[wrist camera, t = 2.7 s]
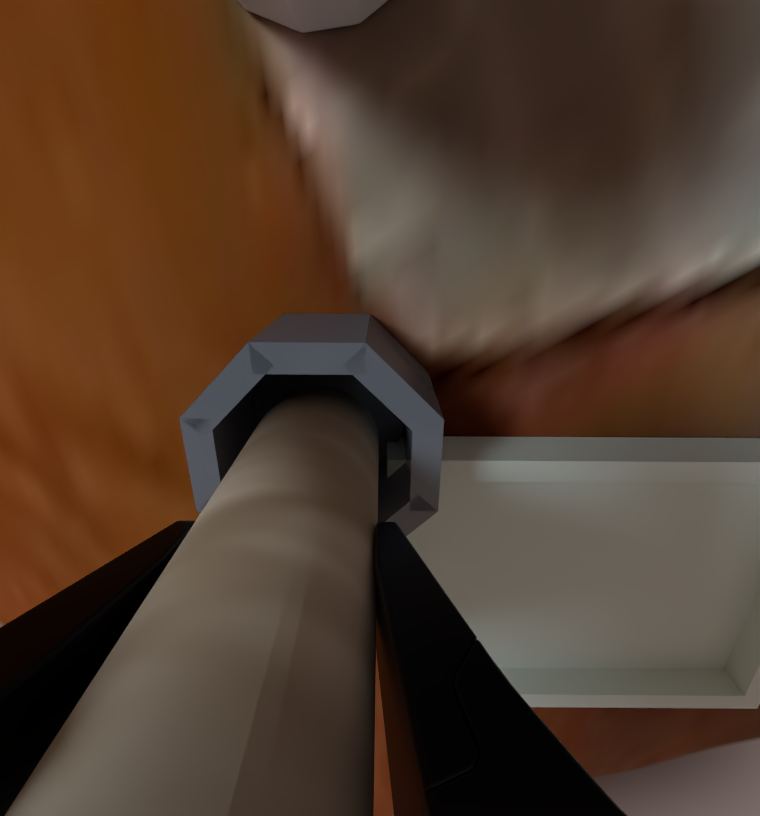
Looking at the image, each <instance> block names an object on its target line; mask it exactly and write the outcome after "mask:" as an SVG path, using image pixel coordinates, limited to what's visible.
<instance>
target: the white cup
mask: <svg viewBox="0 0 760 816" xmlns="http://www.w3.org/2000/svg"><path fill="white" fill-rule="evenodd" d="M387 1H388V0H237V2H238V3H239V4H240V5H241V6H242V7H243V8H244V9H245V10H247V11H249V12H252V13H254V14H257V15H259V16H262V17H264V18H267V19H269V20H271V21H274V22H276V23H279V24H281V25H284V26H286V27H288V28H291V29H293V30H296V31H298V32H301V33H307V32H313V31H319V30H325V29H331V28H337V27H344V26H350V25H356V24H360V23H361V22H363V21H364V20H365V19H366V18H367V17H369V16H370V15H371V14H372V13H373V12H375V11H376V10H377V9H378V8H380V7H381V6H382V5H383V4H384V3H386V2H387Z"/></svg>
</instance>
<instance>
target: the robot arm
mask: <svg viewBox="0 0 760 816" xmlns="http://www.w3.org/2000/svg"><path fill="white" fill-rule="evenodd" d="M194 523H195V521H177V522H175V523H173V524H172V525H170V526H168V527H167V528H165V529H163V530H162V531H160V532H158V533H157V534H155V535H153V536H152V537H150V538H148V539H147V540H145V541H143V542H142V543H140V544H138V545H137V546H135V547H133V548H132V549H130V550H129V551H127V552H125V553H124V554H122V555H120V556H119V557H117V558H115V559H114V560H112V561H110V562H109V563H107V564H105V565H104V566H102V567H100V568H99V569H97V570H95V571H94V572H92V573H90V574H89V575H87V576H85V577H84V578H82V579H80V580H79V581H77V582H75V583H74V584H72V585H70V586H69V587H67V588H65V589H64V590H62V591H60V592H59V593H57V594H56V595H54V596H52V597H51V598H49V599H47V600H46V601H44V602H42V603H41V604H39V605H37V606H36V607H34V608H32V609H31V610H29V611H27V612H26V613H24V614H22V615H21V616H19V617H17V618H16V619H14V620H12V621H11V622H9V623H7V624H6V625H4V626H2V627H1V628H0V816H5V814H6V812H7V811H8V809H9V808H10V806H11V805H12V803H13V802H14V800H15V799H16V797H17V796H18V794H19V792H20V791H21V789H22V788H23V786H24V785H25V783H26V782H27V780H28V779H29V777H30V776H31V774H32V772H33V771H34V769H35V768H36V766H37V765H38V763H39V762H40V760H41V759H42V757H43V755H44V754H45V752H46V751H47V749H48V748H49V746H50V745H51V743H52V742H53V740H54V739H55V737H56V735H57V734H58V732H59V731H60V729H61V728H62V726H63V725H64V723H65V722H66V720H67V718H68V717H69V715H70V714H71V712H72V711H73V709H74V708H75V706H76V705H77V703H78V702H79V700H80V698H81V697H82V695H83V694H84V692H85V691H86V689H87V688H88V686H89V685H90V683H91V682H92V680H93V678H94V677H95V675H96V674H97V672H98V671H99V669H100V668H101V666H102V665H103V663H104V661H105V660H106V658H107V657H108V655H109V654H110V652H111V651H112V649H113V648H114V646H115V645H116V643H117V641H118V640H119V638H120V637H121V635H122V634H123V632H124V631H125V629H126V628H127V626H128V624H129V623H130V621H131V620H132V618H133V617H134V615H135V614H136V612H137V611H138V609H139V608H140V606H141V604H142V603H143V601H144V600H145V598H146V597H147V595H148V594H149V592H150V591H151V589H152V588H153V586H154V584H155V583H156V581H157V580H158V578H159V577H160V575H161V574H162V572H163V571H164V569H165V567H166V566H167V564H168V563H169V561H170V560H171V558H172V557H173V555H174V554H175V552H176V551H177V549H178V547H179V546H180V544H181V543H182V541H183V540H184V538H185V537H186V535H187V534H188V532H189V530H190V529H191V527H192V526H193V524H194ZM375 588H376V652H377V661H378V670H379V679H380V689H381V698H382V707H383V716H384V726H385V735H386V744H387V754H388V763H389V772H390V781H391V791H392V800H393V809H394V816H627V815H626V814H625V813H624V812H623V811H622V810H621V809H620V808H619V807H618V806H617V805H616V804H615V803H614V802H613V801H612V799H611V798H610V797H609V796H608V795H607V794H606V793H605V792H604V791H603V790H602V788H601V787H600V786H599V785H598V784H597V783H596V782H595V780H594V779H593V778H592V777H591V776H590V775H589V774H588V772H587V771H586V770H585V769H584V768H583V767H582V766H581V764H580V763H579V762H578V761H577V760H576V759H575V758H574V756H573V755H572V754H571V753H570V752H569V751H568V750H567V748H566V747H565V746H564V745H563V744H562V743H561V742H560V740H559V739H558V738H557V737H556V736H555V735H554V734H553V733H552V731H551V730H550V729H549V728H548V727H547V726H546V725H545V723H544V722H543V721H542V720H541V719H540V718H539V717H538V715H537V714H536V713H535V712H534V711H533V710H532V708H531V707H530V706H529V705H528V704H527V702H526V701H525V700H524V699H523V698H522V696H521V695H520V694H519V693H518V692H517V691H516V689H515V688H514V687H513V686H512V685H511V683H510V682H509V681H508V679H507V678H506V677H505V675H504V674H503V673H502V671H501V670H500V669H499V667H498V666H497V665H496V663H495V662H494V661H493V659H492V658H491V656H490V655H489V654H488V652H487V651H486V649H485V648H484V646H483V645H482V643H481V642H480V641H479V640H477V637H476V635H475V634H474V632H473V631H472V630H471V628H470V627H469V625H468V624H467V622H466V621H465V620H464V618H463V617H462V615H461V614H460V612H459V611H458V610H457V608H456V607H455V605H454V604H453V603H452V601H451V600H450V598H449V597H448V595H447V594H446V593H445V591H444V590H443V588H442V587H441V585H440V584H439V583H438V581H437V580H436V578H435V577H434V575H433V574H432V573H431V571H430V570H429V568H428V567H427V566H426V564H425V563H424V561H423V560H422V558H421V557H420V556H419V554H418V553H417V551H416V550H415V548H414V547H413V546H412V544H411V543H410V541H409V540H408V538H407V537H406V536H405V534H404V533H403V531H402V530H401V529H400V527H399V526H398V524H397V523H396V522H378V523H377V524H376V537H375Z"/></svg>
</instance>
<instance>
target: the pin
mask: <svg viewBox="0 0 760 816" xmlns="http://www.w3.org/2000/svg"><path fill="white" fill-rule="evenodd" d="M378 465H379V436H378V430H377V426H376V424H375V421H374V419H373V417H372V415H371V414H370V412H369V411H368V409H367V408H366V407H365V406H364V405H363V404H362V403H361V402H360V401H359V400H358V399H357V398H355V397H354V396H352V395H351V394H349V393H347V392H345V391H343V390H341V389H338V388H334V387H330V386H325V385H308V386H302V387H299V388H295V389H293V390H291V391H288V392H286V393H285V394H283V395H282V396H280V397H279V398H278V399H277V400H276V401H274V403H273V404H272V405H271V406H270V407H269V409H268V410H267V412H266V413H265V415H264V416H263V418H262V420H261V421H260V423H259V424H258V426H257V427H256V429H255V430H254V432H253V433H252V435H251V437H250V438H249V440H248V441H247V443H246V444H245V446H244V447H243V449H242V450H241V452H240V453H239V455H238V457H237V458H236V460H235V461H234V463H233V464H232V466H231V467H230V469H229V470H228V472H227V473H226V475H225V477H224V478H223V480H222V481H221V483H220V484H219V486H218V487H217V489H216V490H215V492H214V494H213V495H212V497H211V498H210V500H209V501H208V503H207V504H206V506H205V507H204V509H203V510H202V512H201V514H200V515H199V517H198V518H197V520H196V521H195V523H194V524H193V526H192V527H191V529H190V530H189V532H188V534H187V535H186V537H185V538H184V540H183V541H182V543H181V544H180V546H179V547H178V549H177V551H176V552H175V554H174V555H173V557H172V558H171V560H170V561H169V563H168V564H167V566H166V567H165V569H164V571H163V572H162V574H161V575H160V577H159V578H158V580H157V581H156V583H155V584H154V586H153V588H152V589H151V591H150V592H149V594H148V595H147V597H146V598H145V600H144V601H143V603H142V604H141V606H140V608H139V609H138V611H137V612H136V614H135V615H134V617H133V618H132V620H131V621H130V623H129V624H128V626H127V628H126V629H125V631H124V632H123V634H122V635H121V637H120V638H119V640H118V641H117V643H116V645H115V646H114V648H113V649H112V651H111V652H110V654H109V655H108V657H107V658H106V660H105V661H104V663H103V665H102V666H101V668H100V669H99V671H98V672H97V674H96V675H95V677H94V678H93V680H92V682H91V683H90V685H89V686H88V688H87V689H86V691H85V692H84V694H83V695H82V697H81V698H80V700H79V702H78V703H77V705H76V706H75V708H74V709H73V711H72V712H71V714H70V715H69V717H68V718H67V720H66V722H65V723H64V725H63V726H62V728H61V729H60V731H59V732H58V734H57V735H56V737H55V739H54V740H53V742H52V743H51V745H50V746H49V748H48V749H47V751H46V752H45V754H44V755H43V757H42V759H41V760H40V762H39V763H38V765H37V766H36V768H35V769H34V771H33V772H32V774H31V776H30V777H29V779H28V780H27V782H26V783H25V785H24V786H23V788H22V789H21V791H20V792H19V794H18V796H17V797H16V799H15V800H14V802H13V803H12V805H11V806H10V808H9V809H8V811H7V812H6V814H5V816H373V800H374V733H375V666H376V588H375V537H376V524H377V523H378Z"/></svg>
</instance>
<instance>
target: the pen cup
mask: <svg viewBox="0 0 760 816" xmlns="http://www.w3.org/2000/svg"><path fill="white" fill-rule="evenodd" d="M259 380H260V381H259ZM258 381H259V384H258V386H257V389H255V385H256V384H257V383H258ZM308 385H325V386H330V387H334V388H338V389H341V390H343V391H345V392H347V393H349V394H351V395H352V396H354V397H355V398H357V399H358V400H359V401H360V402H361V403H362V404H363V405H364V406H365V407H366V408H367V409H368V411H369V412H370V414H371V415H372V417H373V419H374V421H375V424H376V426H377V430H378V436H379V465H378V522H396V523H397V524H398V526H399V527H400V529H401V530H402V531H403V533H404V534H405V536H407V535H409V534H410V533H411V532H413V531H414V530H415V529H416V528H418V527H419V526H420V525H421V524H423V523H424V522H425V521H427V520H428V519H429V518H430V517H432V516H433V515H434V514H435V513H437V512H438V505H439V490H440V475H441V460H442V444H443V429H444V418H443V415H442V412H441V409H440V406H439V403H438V400H437V397H436V394H435V391H434V388H433V385H432V382H431V379H430V376H429V373H428V372H427V371H426V370H425V369H424V368H423V367H422V366H421V365H420V364H419V363H418V362H417V361H416V360H415V359H414V358H413V357H412V356H411V355H410V354H409V353H408V352H407V351H406V350H405V349H404V348H403V347H402V346H401V345H400V344H399V343H398V342H397V341H396V340H395V339H394V338H393V337H392V336H391V335H390V334H389V333H388V332H387V331H386V330H385V329H384V328H383V327H382V326H381V325H380V324H379V323H378V322H377V320H376V319H375V318H374V317H373V316H372V315H371V314H283V315H281V316H280V317H279V318H278V319H276V320H275V321H274V322H273V323H272V324H270V325H269V326H268V327H267V328H265V329H264V330H263V331H262V332H260V333H259V334H258V335H257V336H255V337H254V338H253V339H252V340H251V341H249V342H248V343H247V344H246V345H245V346H244V348H243V349H242V350H241V351H240V352H239V353H238V354H237V355H236V356H235V357H234V359H233V360H232V361H231V362H230V363H229V364H228V365H227V366H226V367H225V368H224V370H223V371H222V372H221V373H220V374H219V375H218V376H217V377H216V378H215V379H214V381H213V382H212V383H211V384H210V385H209V386H208V387H207V388H206V389H205V391H204V392H203V393H202V394H201V395H200V396H199V397H198V398H197V399H196V400H195V402H194V403H193V404H192V405H191V406H190V407H189V408H188V409H187V410H186V411H185V413H184V414H183V415H182V416H181V417H180V418H179V419H180V425H181V430H182V435H183V441H184V446H185V451H186V457H187V462H188V467H189V473H190V478H191V483H192V489H193V494H194V499H195V505H196V510H197V511H199V512H200V513H201V512H202V510H203V509H204V507H205V506H206V504H207V503H208V501H209V500H210V498H211V497H212V495H213V494H214V492H215V490H216V489H217V487H218V486H219V484H220V483H221V481H222V480H223V478H224V477H225V475H226V473H227V472H228V470H229V469H230V467H231V466H232V464H233V463H234V461H235V460H236V458H237V457H238V455H239V453H240V452H241V450H242V449H243V447H244V446H245V444H246V443H247V441H248V440H249V438H250V437H251V435H252V433H253V432H254V430H255V429H256V427H257V426H258V424H259V423H260V421H261V420H262V418H263V416H264V415H265V413H266V412H267V410H268V409H269V407H270V406H271V405H272V404H273V403H274V401H276V400H277V399H278V398H279V397H280V396H282V395H283V394H285V393H286V392H288V391H291V390H293V389H295V388H299V387H302V386H308ZM403 427H404V433H403V437H404V446H405V456H406V463H405V464H403V465H402V466H401V467H400V468H399V469H397V470H396V471H395V472H394V473H393V474H392V475H390V476H389V477H388V478H387V442H399V440H400V437H401V435H402V431H403Z"/></svg>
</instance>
